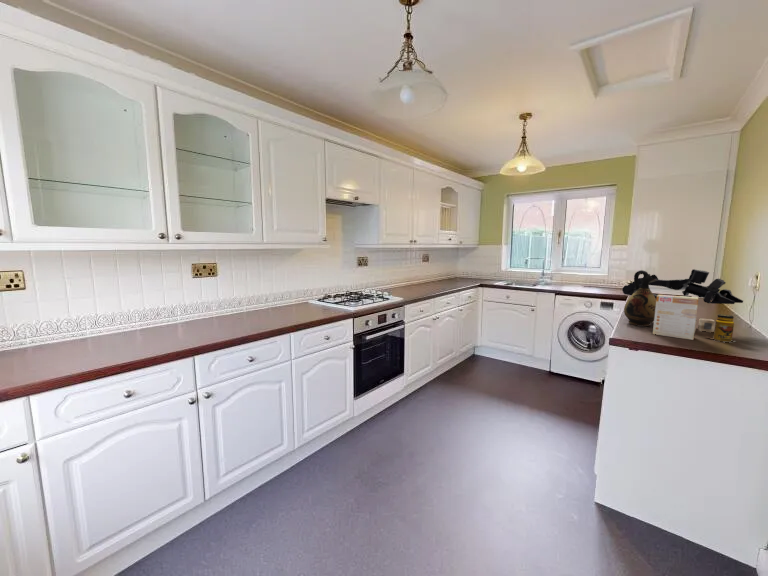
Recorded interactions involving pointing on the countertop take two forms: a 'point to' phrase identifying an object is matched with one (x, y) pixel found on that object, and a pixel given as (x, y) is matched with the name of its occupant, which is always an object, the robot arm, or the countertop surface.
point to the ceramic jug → (641, 301)
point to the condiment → (724, 328)
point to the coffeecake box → (675, 316)
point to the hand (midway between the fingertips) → (738, 302)
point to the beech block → (706, 325)
